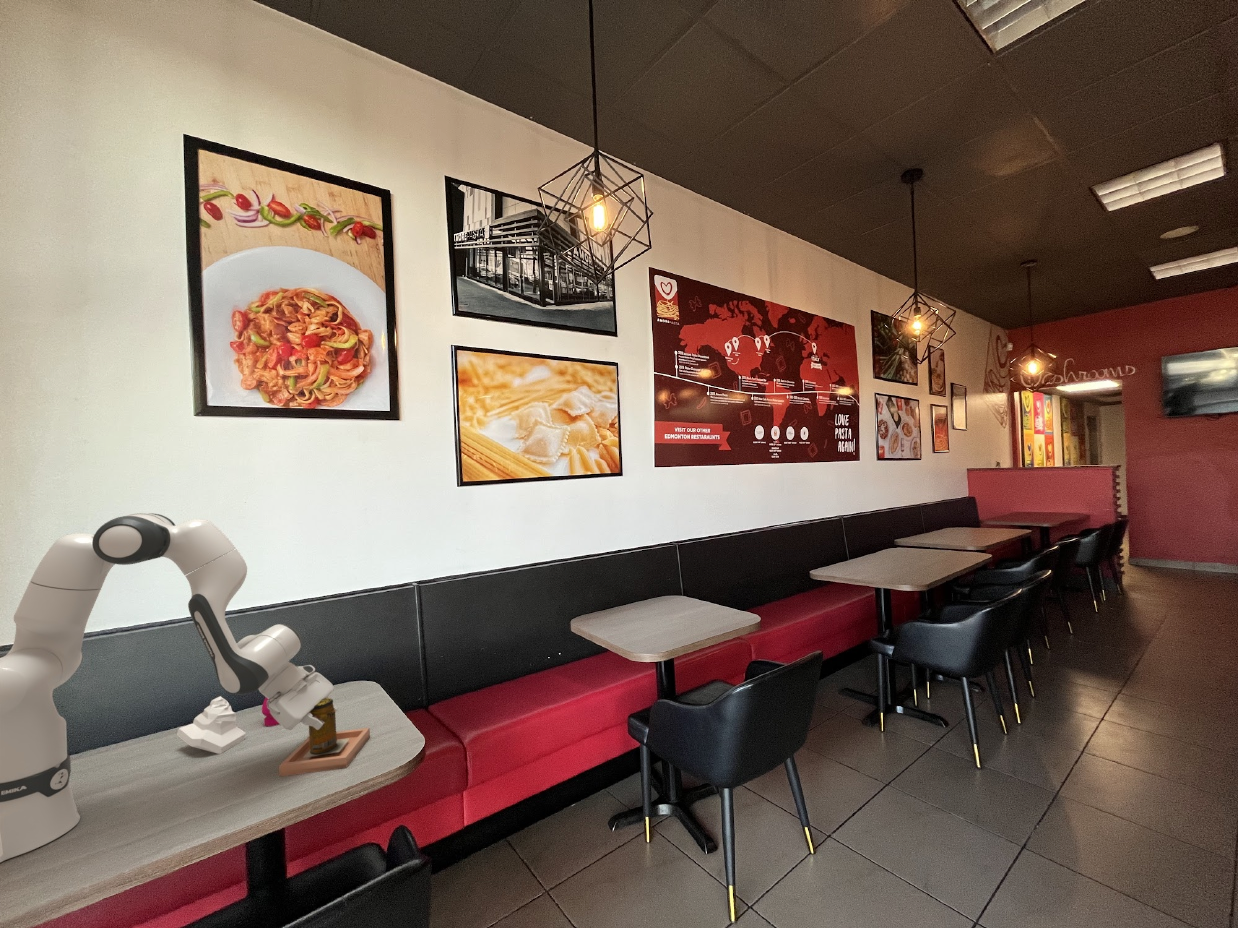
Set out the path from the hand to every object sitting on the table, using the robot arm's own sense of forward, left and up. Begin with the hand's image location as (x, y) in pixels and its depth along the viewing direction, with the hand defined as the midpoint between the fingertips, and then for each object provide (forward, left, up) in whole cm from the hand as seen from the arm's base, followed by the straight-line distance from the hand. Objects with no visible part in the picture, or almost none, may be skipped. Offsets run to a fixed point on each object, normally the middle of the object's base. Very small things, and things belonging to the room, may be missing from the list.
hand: (328, 719), depth 131 cm
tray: (-1, 0, -9) cm, 9 cm away
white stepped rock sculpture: (-37, +14, -9) cm, 40 cm away
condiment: (-1, 0, -7) cm, 7 cm away
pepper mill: (-27, +26, -9) cm, 38 cm away
